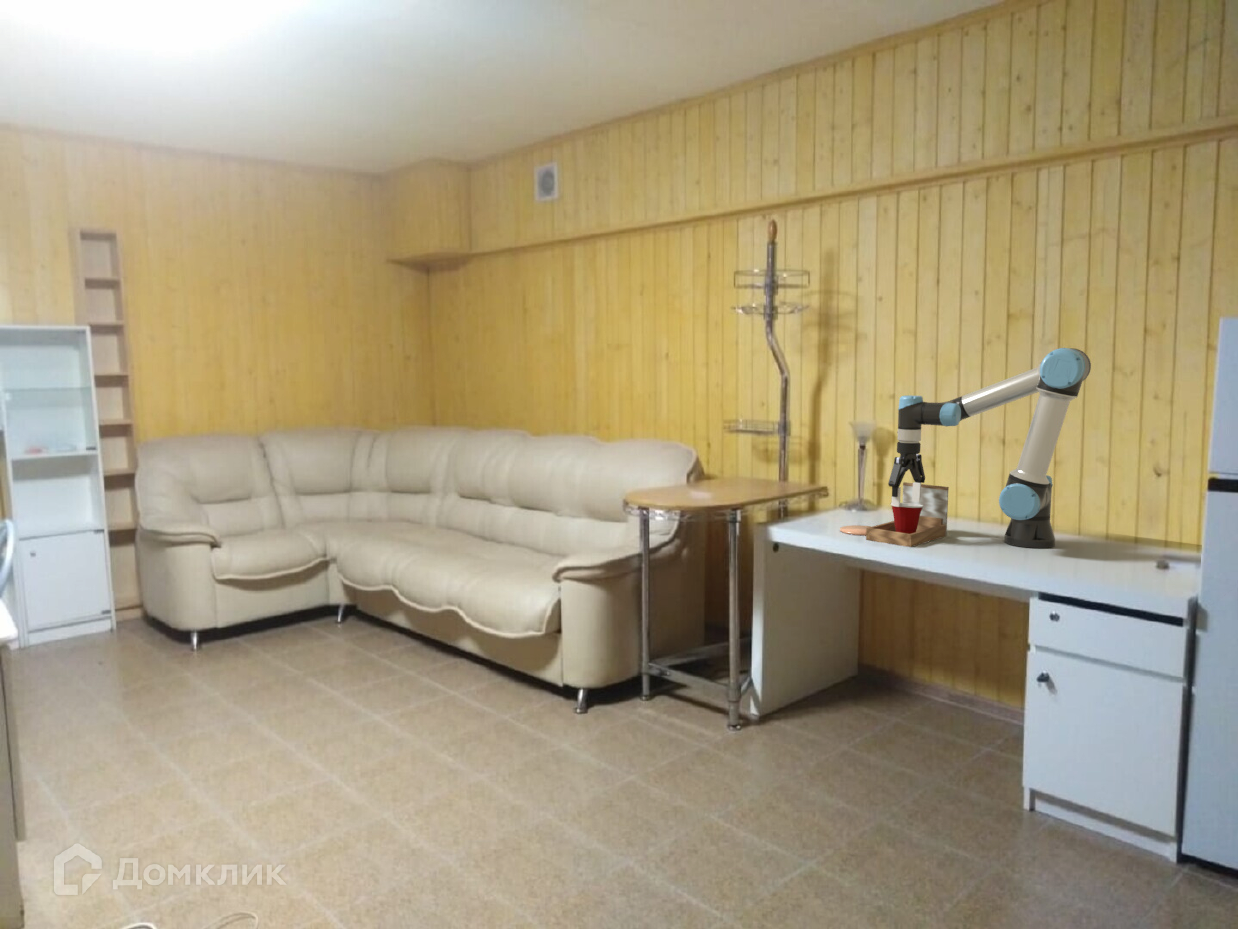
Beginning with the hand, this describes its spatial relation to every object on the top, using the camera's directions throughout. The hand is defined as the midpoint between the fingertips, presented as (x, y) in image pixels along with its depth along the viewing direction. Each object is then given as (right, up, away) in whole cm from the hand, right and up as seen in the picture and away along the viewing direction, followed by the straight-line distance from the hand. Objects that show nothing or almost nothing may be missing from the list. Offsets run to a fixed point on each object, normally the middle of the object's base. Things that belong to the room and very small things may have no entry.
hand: (906, 503), depth 299 cm
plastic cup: (0, -12, +1) cm, 12 cm away
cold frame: (0, -12, +1) cm, 12 cm away
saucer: (-12, -10, +13) cm, 20 cm away
